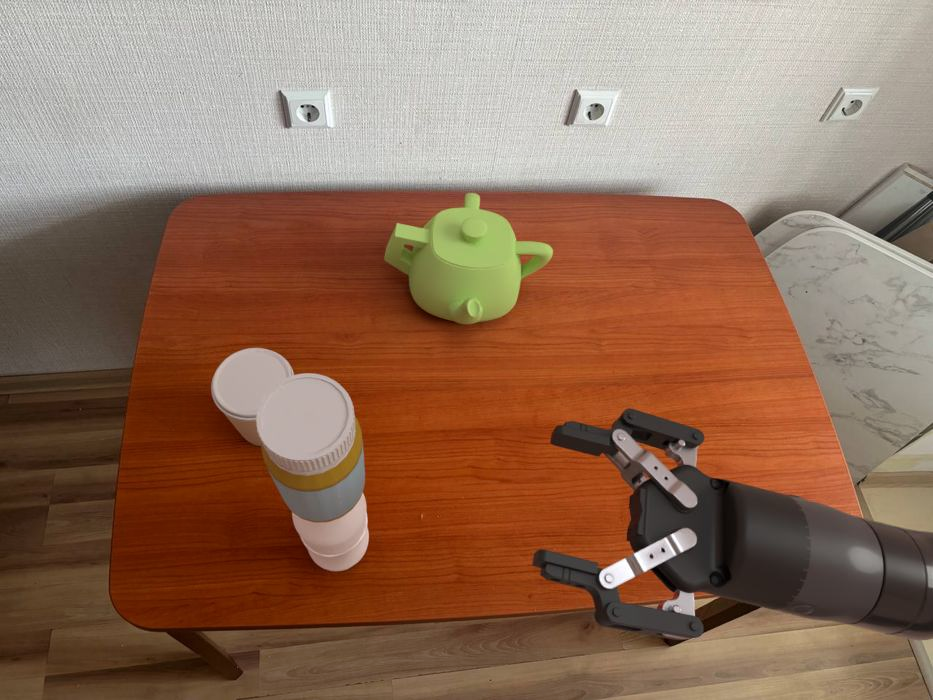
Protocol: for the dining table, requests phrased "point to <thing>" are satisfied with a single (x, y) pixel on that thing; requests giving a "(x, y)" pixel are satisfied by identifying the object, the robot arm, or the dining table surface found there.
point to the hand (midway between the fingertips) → (544, 492)
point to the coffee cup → (247, 386)
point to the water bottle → (336, 538)
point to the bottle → (312, 446)
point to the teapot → (464, 262)
